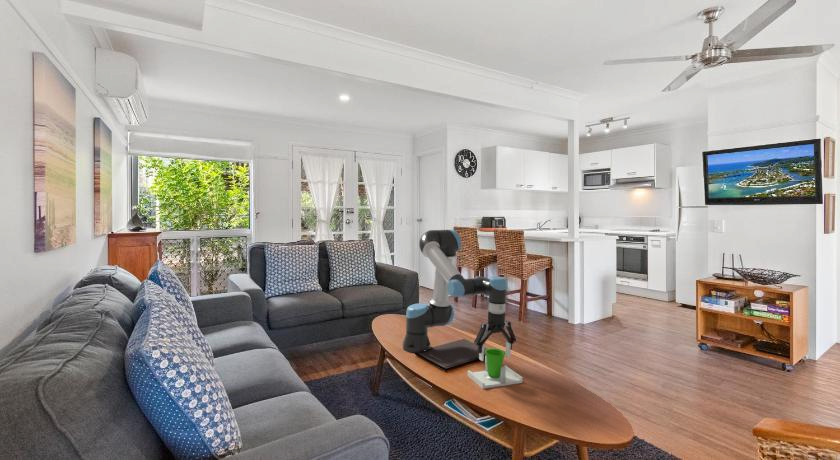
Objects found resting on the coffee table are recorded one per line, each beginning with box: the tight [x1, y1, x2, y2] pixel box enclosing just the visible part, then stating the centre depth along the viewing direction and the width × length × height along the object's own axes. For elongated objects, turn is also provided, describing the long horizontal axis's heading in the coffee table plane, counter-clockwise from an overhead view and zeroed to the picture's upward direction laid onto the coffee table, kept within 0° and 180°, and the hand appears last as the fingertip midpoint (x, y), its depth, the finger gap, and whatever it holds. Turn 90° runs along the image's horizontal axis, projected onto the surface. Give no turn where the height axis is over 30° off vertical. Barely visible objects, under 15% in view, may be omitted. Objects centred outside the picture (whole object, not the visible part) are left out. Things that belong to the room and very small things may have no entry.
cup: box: [484, 348, 506, 378], centre depth 181 cm, size 9×9×11 cm
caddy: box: [467, 355, 524, 390], centre depth 181 cm, size 16×20×8 cm
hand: (494, 358), depth 181 cm, fingers open, 13 cm apart
